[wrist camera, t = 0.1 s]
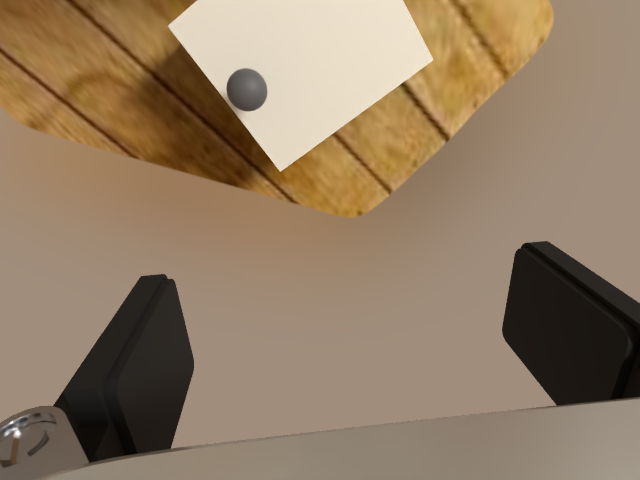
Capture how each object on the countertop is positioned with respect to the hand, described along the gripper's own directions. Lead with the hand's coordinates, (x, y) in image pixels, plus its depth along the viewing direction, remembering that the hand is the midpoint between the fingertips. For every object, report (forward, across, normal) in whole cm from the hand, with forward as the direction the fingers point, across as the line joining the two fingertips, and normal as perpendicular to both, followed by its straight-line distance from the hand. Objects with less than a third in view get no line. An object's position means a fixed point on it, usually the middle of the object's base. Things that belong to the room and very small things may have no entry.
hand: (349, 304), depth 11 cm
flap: (+29, -1, -7) cm, 30 cm away
